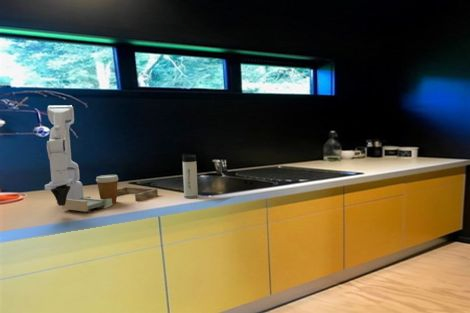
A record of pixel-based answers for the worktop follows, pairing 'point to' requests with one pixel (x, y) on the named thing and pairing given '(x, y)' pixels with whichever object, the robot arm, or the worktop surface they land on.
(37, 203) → the worktop surface
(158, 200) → the worktop surface
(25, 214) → the worktop surface
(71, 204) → the beige grey flat-sided piece
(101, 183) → the disposable coffee cup
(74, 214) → the worktop surface
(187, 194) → the travel mug
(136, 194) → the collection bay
